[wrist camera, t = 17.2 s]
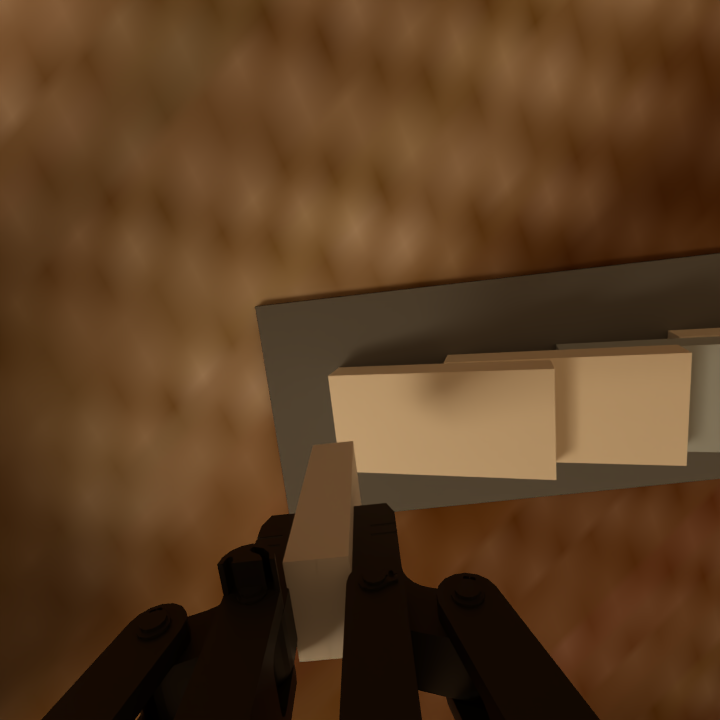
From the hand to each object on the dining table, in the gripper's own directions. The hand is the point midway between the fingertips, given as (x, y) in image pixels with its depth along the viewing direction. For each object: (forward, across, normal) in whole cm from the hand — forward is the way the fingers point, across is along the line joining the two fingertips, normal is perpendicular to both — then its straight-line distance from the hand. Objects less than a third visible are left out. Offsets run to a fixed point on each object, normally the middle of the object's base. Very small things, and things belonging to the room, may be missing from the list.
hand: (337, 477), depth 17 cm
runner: (+7, +11, 0) cm, 14 cm away
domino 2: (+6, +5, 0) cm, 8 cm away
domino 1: (+6, 0, 0) cm, 6 cm away
